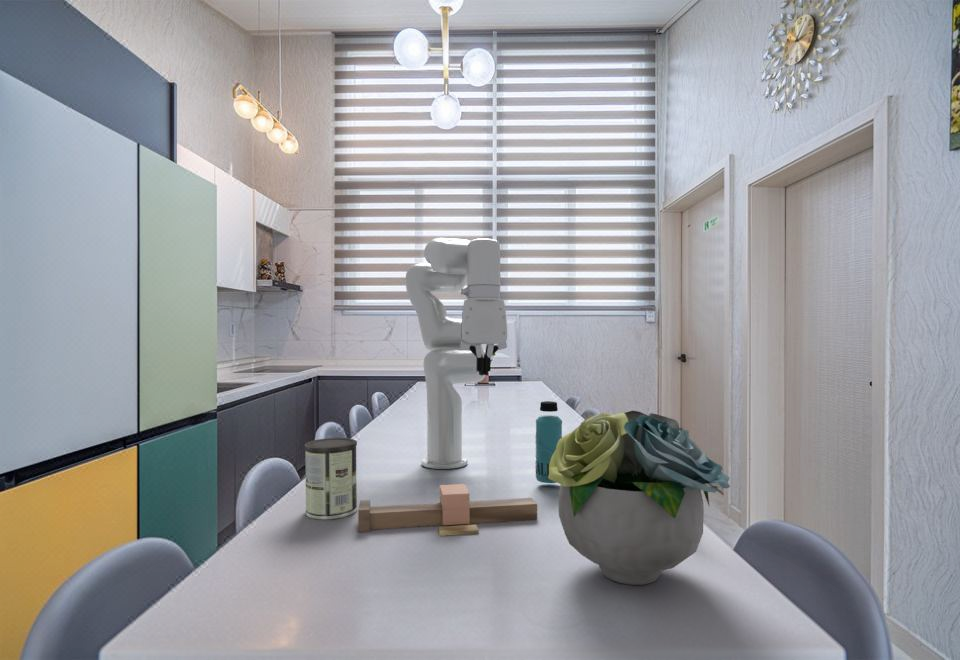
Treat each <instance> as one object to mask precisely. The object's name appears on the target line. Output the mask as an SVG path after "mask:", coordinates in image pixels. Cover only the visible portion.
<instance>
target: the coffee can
mask: <svg viewBox="0 0 960 660" xmlns="http://www.w3.org/2000/svg"><path fill="white" fill-rule="evenodd" d="M357 443H358V441H357V440H356V439H353V438H349V437H329V438H320V439H315V440H314V439H313V440H310V441H308V442H306V443H305V444H304V449H305V451H304V452H305V454H304V456H305V458H304V459H305V461H304V462H305V516H307V517H308V518H310V519H314V520H322V521H323V520H325V521H326V520H335V519H342V518H346V517H350V516H351V515H353V514H355V513H356V512H358V507H357V506H358V505H357V504H358V502H357V497H358V496H357V495H358V492H357V491H358V489H357V445H358V444H357Z"/></svg>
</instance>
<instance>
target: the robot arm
mask: <svg viewBox="0 0 960 660" xmlns="http://www.w3.org/2000/svg"><path fill="white" fill-rule="evenodd" d="M423 252H424V257H425V261H426V262H427V263H417V264H413V265H411V266H409V268H408V269H407V271H406V273H405V288H406V292H407V296H408V298H409V301H410V304H411V305H412V307H413V309H414V311H415V313H416V316H417V318H418V324H419V329H420V335H421V339H422V342H423V344H424V346H425V349H427V350H429V352H427V354H426V355H425V356H424V358H423V373H424V377H425V378H424V379H425V385H426V415H427V416H426V427H427V429H426V434H427V435H426V436H427V437H426V440H427V441H426V443H427V444H426V445H427V446H426V447H427V449H426V450H427V451H426V452H427V455H426V457H424V458H422V459H421V465H422V466H423V467H425V468H428V469H434V470H436V469H437V470H452V469H459V468H463V467H465V466H466V465H468V458H467V457H466V456H465V457H464V456H463V452H462V451H463V450H462V449H463V444H462V443H463V441H462V440H463V438H462V437H463V433H462V432H463V431H462V430H463V429H462V426H463V421H462V420H463V419H462V417H463V416H462V415H463V414H462V413H463V412H462V411H463V408H462V406H463V405H462V403H463V402H462V398H461V396H460V394H459V392H458V391H457V390H456V388H455V387H454V385H455V384H456V385H457V384H472V383H474V384H475V383H478V382H482V381H483V380H484V379H485V378H486V376H489V372H491V368H492V367H491V365H492V363H491V361H492V359H491V358H492V357H493V355H495V353H496V352H498V351H501V350H503V349H504V350H505V349H507V347H508V345H507V340H508V324H507V323H508V322H507V314H506V313H507V312H506V306H505V305H506V304H505V301H504V299H501V244H500V242H499V241H498V240H496V239H492V238H476V239H472V240H468V239H462V238H446V237H437V238H433V239H431V240H430V241H428V242H427V244H426V245H425V247H424V250H423ZM465 286H466V287H465ZM433 293H450V294H451V293H460V295H461V296H462V295H463V296H466V299H464V301H463V304H462V313H461V318H451V317H449V316H448V314H447V310H446V307H445V305H444V304H443V302H441V299H439V298H438V297H436V296H435V295H434V294H433ZM483 345H485V346H486V347H485V352H484V348H483Z"/></svg>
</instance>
